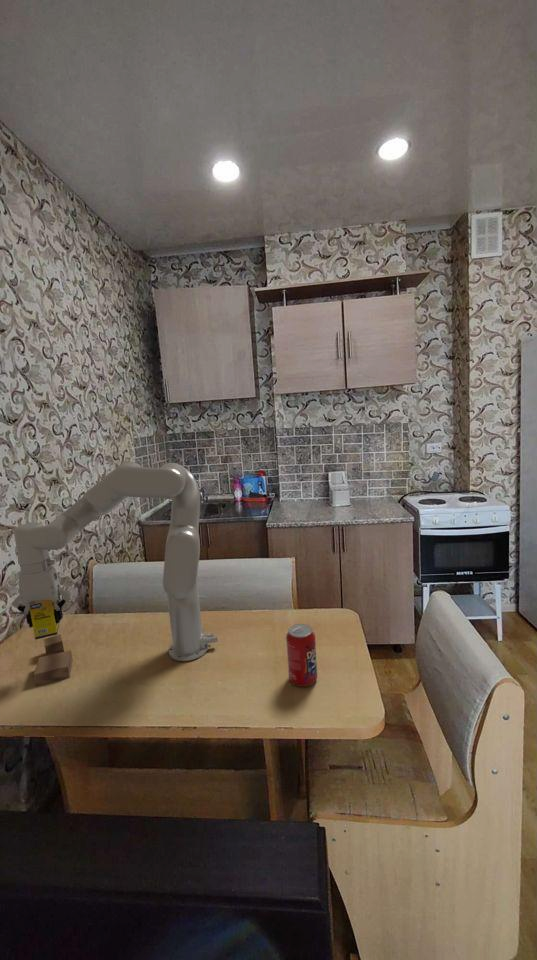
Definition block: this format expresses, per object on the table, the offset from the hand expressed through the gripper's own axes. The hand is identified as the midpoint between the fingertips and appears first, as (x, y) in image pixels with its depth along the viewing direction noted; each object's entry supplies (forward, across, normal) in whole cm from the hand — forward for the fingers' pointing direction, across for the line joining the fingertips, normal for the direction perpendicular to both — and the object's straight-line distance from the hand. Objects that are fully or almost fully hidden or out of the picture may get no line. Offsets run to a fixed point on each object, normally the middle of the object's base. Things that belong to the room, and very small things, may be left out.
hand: (45, 622), depth 123 cm
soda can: (+17, -71, +24) cm, 77 cm away
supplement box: (+3, 0, 0) cm, 3 cm away
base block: (+17, 0, 0) cm, 17 cm away
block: (+17, +3, -11) cm, 20 cm away
